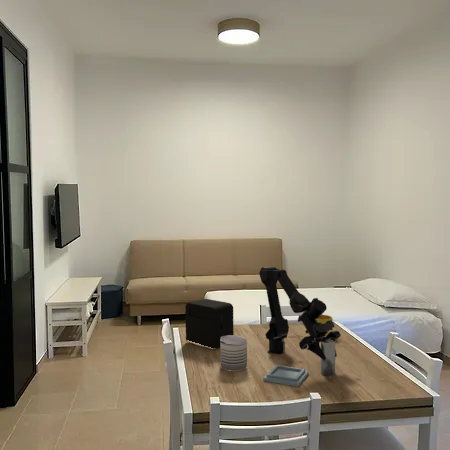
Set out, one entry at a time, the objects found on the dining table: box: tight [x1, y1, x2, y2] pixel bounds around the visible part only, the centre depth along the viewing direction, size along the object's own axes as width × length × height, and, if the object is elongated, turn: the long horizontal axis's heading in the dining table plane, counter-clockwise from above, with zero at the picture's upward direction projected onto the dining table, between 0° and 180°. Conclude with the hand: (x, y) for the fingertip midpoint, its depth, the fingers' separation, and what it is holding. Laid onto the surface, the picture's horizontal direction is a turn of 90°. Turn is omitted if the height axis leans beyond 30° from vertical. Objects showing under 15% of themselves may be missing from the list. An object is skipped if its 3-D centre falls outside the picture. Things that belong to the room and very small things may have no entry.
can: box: [219, 335, 248, 372], centre depth 204 cm, size 11×11×12 cm
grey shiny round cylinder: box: [320, 340, 336, 377], centre depth 195 cm, size 6×6×13 cm
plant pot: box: [316, 314, 334, 336], centre depth 248 cm, size 10×10×10 cm
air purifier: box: [184, 298, 235, 349], centre depth 237 cm, size 20×15×20 cm
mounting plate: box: [262, 364, 309, 387], centre depth 191 cm, size 14×14×2 cm
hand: (330, 358), depth 194 cm, fingers closed on grey shiny round cylinder, 6 cm apart
